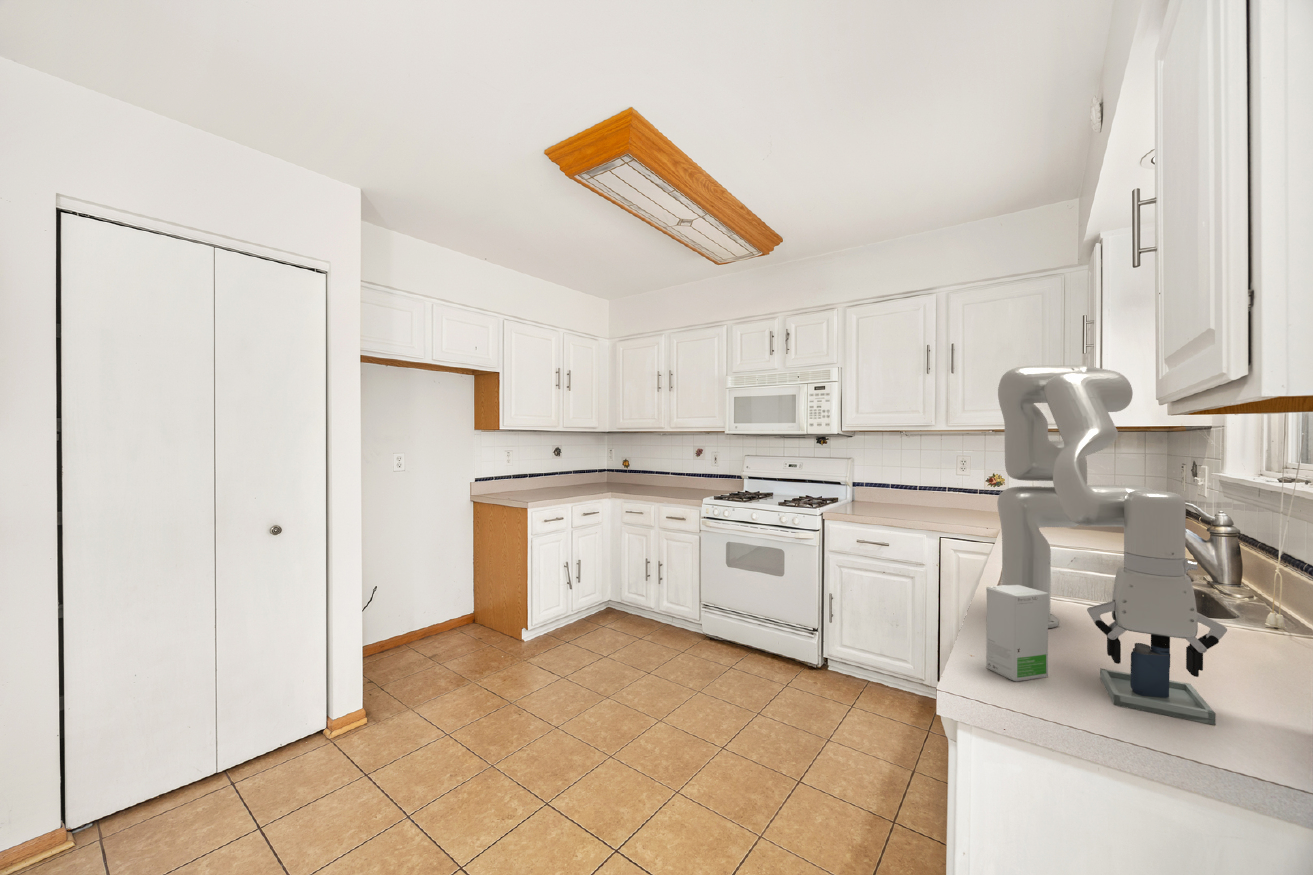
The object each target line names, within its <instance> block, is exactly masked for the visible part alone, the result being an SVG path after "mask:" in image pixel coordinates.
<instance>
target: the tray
mask: <svg viewBox="0 0 1313 875" xmlns="http://www.w3.org/2000/svg"><path fill="white" fill-rule="evenodd" d="M1099 678H1100V681H1101V683H1102V684H1103V687H1104V689H1105V690H1106V692H1107V694H1108V697H1109V698H1110V700H1111V702H1112V704H1113V706H1118V707H1122V708H1126V709H1127V708H1128V709H1132V710H1138V711H1143V712H1147V713H1154V714H1158V715H1161V716H1162V715H1163V716H1168V717H1173V718H1179V719H1182V720H1183V719H1184V720H1188V721H1193V722H1198V723H1203V724H1210V725H1214V726H1216V720H1217V719H1216V717H1217V716H1216V715H1217V714H1216V712H1215V711H1214V710H1213V708H1212V707H1211V706H1210V705H1209V703H1208V702H1206V700H1205V699H1204V698H1203V697H1202V696H1201V695H1200V693H1199V692H1198V691H1197V690H1196V689H1195V687H1194V686H1193V685H1192V684H1191V683H1188V682H1183V681H1176V680H1171V679H1169V697H1168V698H1165V697H1150V696H1141V695H1138V694H1136V693H1134V692H1133V691H1132V688H1131V686H1130V679H1131V672H1124V671H1118V670H1112V669H1107V668H1106V669H1105V668H1099Z"/></svg>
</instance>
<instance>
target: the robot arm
mask: <svg viewBox="0 0 1313 875" xmlns="http://www.w3.org/2000/svg"><path fill="white" fill-rule="evenodd" d="M1133 394H1134V393H1133V388H1132V384H1131V382H1130V381H1129V379H1128V378H1127V377H1126V376H1125V375H1123V374H1122V373H1120V372H1118V371H1115V370H1111V369H1105V368H1100V367H1094V366H1091V365H1083V364H1081V365H1080V364H1077V365H1075V364H1074V365H1073V364H1072V365H1071V364H1067V365H1066V364H1065V365H1026V366H1020V367H1015V368H1012V369H1009V370H1007V371H1006V372H1005V373H1004V374H1003V375H1002V376H1001V378H1000V380H999V383H998V387H997V397H998V403H999V408H1000V411H1001V414H1002V417H1003V421H1004V422H1003V424H1004V467H1005V471H1006V473H1007V476H1008V477H1010V478H1012V479H1014V480H1017V481H1027V482H1028V481H1029V482H1052V483H1053V486H1035V485H1034V486H1029V485H1028V486H1023V485H1022V486H1013V487H1009V488H1006V489H1004V490H1002V491H1001V492H1000V493H999V495H998V497H997V512H998V516H999V522H1000V528H1001V529H1000V530H1001V550H1002V551H1001V552H1002V554H1001V558H1002V559H1001V563H1002V564H1001V567H1002V568H1001V571H1002V572H1001V574H1002V575H1001V585H1021V586H1025V587H1028V588H1032V589H1036V590H1040V591H1043V592H1047V593H1048V629H1052V628H1056V627H1058V626H1059V625H1060V622H1059V621H1060V620H1059V617H1057V616H1056V615H1054V614H1053V613H1051V599H1052V598H1051V586H1052V585H1051V579H1052V578H1051V576H1052V574H1051V570H1052V568H1051V566H1052V564H1051V561H1052V556H1051V555H1052V554H1051V553H1052V550H1051V546H1050V543H1049V541H1048V540H1047V539H1046V537H1045V536H1044V534H1043V533H1042V532H1041V530H1040V528H1074V527H1075V528H1076V527H1079V526H1083V527H1113V528H1114V527H1116V528H1117V527H1118V528H1123V567H1118V568H1117V569H1116V573H1115V577H1114V581H1113V582H1114V583H1113V591H1112V600H1111V601H1108V602H1104V603H1100V604H1098V605H1093V606H1091V607H1087V609H1086V611H1087V613H1088V615H1089V617H1090V618H1091V620H1092V621H1093V623H1094V625H1095V626H1096V627H1097V629H1099V630H1100V631H1101V632H1102V633H1103V634H1104V635H1105V636H1106V653H1107V656H1109V657H1111V660H1112V661H1113V662H1114V664H1118V665H1119V664H1121V660H1122V659H1121V658H1122V657H1121V655H1122V654H1121V653H1122V651H1121V650H1122V648H1121V644H1122V642H1121V640H1120V639H1119V637H1120V636H1122V635H1123V634H1124V633H1125V632H1126V631H1127V632H1128V631H1129V632H1134V633H1141V634H1146V635H1151V634H1152V635H1160V636H1167V637H1170V638H1176V639H1182V640H1183V639H1185V640H1186V641H1187V642H1188V644H1189V645H1187V646H1185V648H1186V650H1185V654H1186V655H1185V658H1186V659H1185V668H1186V670H1187V671H1188V672H1189V674H1190V675H1191V676H1193V677H1194V678H1195V677H1196V678H1199V677H1200V671H1203V670H1204V654H1205V653H1207V651H1208V650H1209V649H1211V648H1213V647H1214V646H1216V645H1217V644H1219V643H1220V640H1221V639H1222V638H1223V637H1224V636H1225V634H1226V633H1227V632H1228V628H1227V627H1226V626H1224V625H1223V624H1222V623H1220V622H1218V621H1216V620H1213V619H1211V618H1209V617H1207V616H1205V615H1204V614H1201V613H1199V612H1198V610H1197V603H1196V602H1197V601H1196V596H1195V592H1194V591H1195V590H1194V586H1193V583H1192V579H1191V577H1190V576H1189V575H1187V574H1188V572H1189V571H1191V570H1192V571H1198V567H1199V566H1198V562H1197V561H1191V560H1189V559H1188V558H1186V535H1187V533H1186V527H1187V526H1186V525H1187V524H1186V521H1187V520H1186V518H1187V517H1186V514H1187V510H1186V508H1187V507H1186V506H1187V505H1186V500H1185V498H1184V497H1183V496H1182V495H1181V494H1179V493H1176V492H1173V491H1172V492H1171V491H1165V490H1155V489H1153V488H1151V487H1147V486H1143V485H1134V484H1133V485H1132V484H1131V485H1130V484H1129V485H1127V484H1124V485H1123V484H1121V485H1119V484H1118V485H1117V484H1088V463H1087V456H1090V455H1093V454H1095V453H1098V452H1100V451H1103V450H1104V449H1107V448H1108V447H1110V446H1111V445H1112V444H1114V443H1115V441H1117V439H1118V437H1119V432H1118V431H1119V430H1118V429H1117V428H1116V425H1115V423H1114V422H1113V419H1112V417H1111V415H1110V413H1117V412H1121V411H1123V410H1125V409H1126V408H1128V406H1129V405H1130V403H1131V402H1132V399H1133ZM1036 404H1047V406H1048V407H1049V410H1050V413H1051V415H1052V417H1053V420H1054V423H1055V424H1056V427H1057V429H1058V433H1059V434H1060V437H1061V439H1062V440H1049V423H1048V420H1047V417H1046V415H1044V413H1043V411H1042V410H1041V409H1040V408H1039V407H1038V406H1037V405H1036ZM1108 613H1111V618H1112V620H1113V622H1111V623H1110V624H1106V623H1105V622H1104V620H1103V619H1102V618H1101V615H1105V614H1108ZM1198 623H1199V624H1201V625H1203V626H1205V627H1207V628H1209V631H1208V632H1207V633H1206V634H1204V635H1202V636H1200V637H1199V638H1197V635H1198V628H1199V626H1198V625H1199V624H1198Z"/></svg>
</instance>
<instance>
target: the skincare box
mask: <svg viewBox="0 0 1313 875" xmlns="http://www.w3.org/2000/svg"><path fill="white" fill-rule="evenodd" d="M985 588H986V592H985V593H986V613H985V614H986V619H985V620H986V632H985V633H986V635H985V636H986V637H985V638H986V640H985V641H986V644H985V646H986V649H985V650H986V653H985V658H986V659H985V660H986V661H985V667H986V669H989V670H990V671H992V672H994V673H996V674H998V675H1000V676H1002V677H1004V678H1006V679H1008V680H1011V681H1013V682H1019V681H1026V680H1033V679H1034V680H1035V679H1041V678H1048V677H1049V628H1048V593H1047V592H1043V591H1040V590H1036V589H1032V588H1028V587H1025V586H1021V585H1002V584H1000V585H993V586H992V585H991V586H990V585H989V586H986V587H985Z"/></svg>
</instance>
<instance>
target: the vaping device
mask: <svg viewBox="0 0 1313 875" xmlns="http://www.w3.org/2000/svg"><path fill="white" fill-rule="evenodd" d="M1170 669H1171V637H1167V636H1160V635H1152V634H1150V645H1149V644H1146V643H1144V642H1143V643H1142V642H1134V648H1132V651H1131V653H1130V673H1131V679H1130V686H1131V688H1132V691H1133V692H1134V693H1136V694H1138V695H1141V696H1150V697H1165V698H1168V697H1169V680H1170V674H1171V673H1170V672H1171V670H1170Z"/></svg>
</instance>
